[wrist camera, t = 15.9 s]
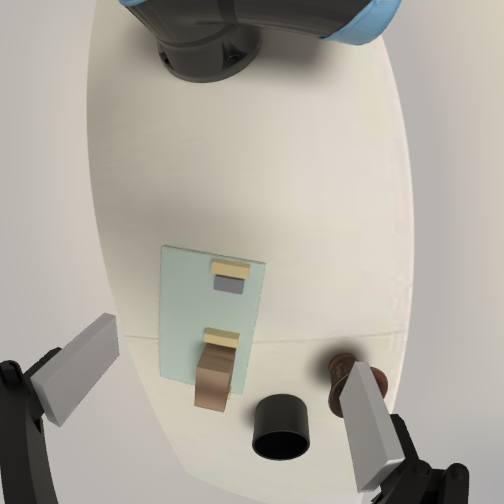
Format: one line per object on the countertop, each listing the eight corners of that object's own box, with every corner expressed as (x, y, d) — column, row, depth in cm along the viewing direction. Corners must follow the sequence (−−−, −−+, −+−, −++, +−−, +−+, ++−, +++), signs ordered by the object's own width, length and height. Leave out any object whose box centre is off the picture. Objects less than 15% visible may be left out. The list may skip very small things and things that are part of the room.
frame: (207, 338, 42) (195, 366, 35) (237, 344, 42) (229, 373, 34) (204, 376, 44) (193, 405, 37) (231, 382, 44) (223, 412, 36)
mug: (256, 432, 48) (252, 466, 39) (256, 392, 45) (251, 429, 36) (302, 433, 47) (304, 467, 38) (309, 393, 44) (313, 429, 35)
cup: (376, 335, 41) (397, 370, 31) (365, 377, 43) (380, 416, 33) (324, 336, 41) (335, 375, 32) (317, 380, 43) (323, 420, 34)
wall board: (164, 245, 40) (156, 250, 37) (265, 263, 39) (264, 269, 36) (161, 373, 46) (156, 382, 43) (242, 391, 45) (240, 402, 42)
